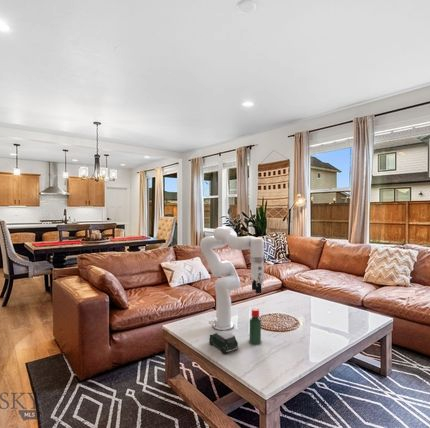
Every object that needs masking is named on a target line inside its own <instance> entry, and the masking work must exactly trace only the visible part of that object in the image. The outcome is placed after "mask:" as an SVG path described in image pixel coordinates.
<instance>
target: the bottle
mask: <svg viewBox="0 0 430 428" xmlns="http://www.w3.org/2000/svg"><path fill="white" fill-rule="evenodd" d="M261 337H262V319H261V318H260V316H259V317H252V316H251V317H250V318H249V344H251V345H254V346H255V345H261V341H262V338H261Z"/></svg>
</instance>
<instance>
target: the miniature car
mask: <svg viewBox="0 0 430 428" xmlns="http://www.w3.org/2000/svg"><path fill="white" fill-rule="evenodd" d="M208 340H209V341H208V342H209V345H214V346H216V347H217V348H219V349H221V352H222V354H226V353H227V352H231V351H234V350H237V349H238V348H240V346H239V342H238V340H237V339H236V335H234V334H233V333H231V332H230V331H228V330H219V332H215V333H213V334H210V335H209V338H208Z"/></svg>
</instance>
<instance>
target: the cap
mask: <svg viewBox="0 0 430 428" xmlns="http://www.w3.org/2000/svg"><path fill="white" fill-rule="evenodd" d="M251 317H259V318H260V309H259V308H255V307H254V308H252V309H251Z"/></svg>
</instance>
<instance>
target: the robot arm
mask: <svg viewBox="0 0 430 428" xmlns="http://www.w3.org/2000/svg"><path fill="white" fill-rule="evenodd" d="M226 246H228V247H229V248H231V249H233V250H237V251H245V250H249V252H250V255H249V256H250V257H249V260H250V261H249V262H250V263H251V264H250V277H251V290H252V291H255V294H262V287H263V285H262V284H263V282H264V280H265V266H264V263H265V258H264V257H265V256H264V255H265V253H264V252H265V240H264V238H263V237H256V236H253V235H247V236H238V234H237V232H236V231H235V229H234V228H233V227H231V226H219V227H216V228H215V229H214V230H213V232H212V235H210V236H205V237H203V238H202V239H201V240H200V243H199V248H200V251H201V254H202V256H203V257H204V258H205V261H206V263H207V265H208V268H209V270H210V272H211V275H212V276H213V277H215V278H217V279H216V280H215V282H214V290H215V314H216V315H215V318H214V319H213V320H208V325H211V326H213V328H214V329H216V330H218V331H228V330H231V329H232V328H234V323H233V322H232V297H231V295H230V292H231V291H237V290H238V289H239V288H240V287H241V279H240V276H239V275H238V272H237V270H236V268H235V266H234V264H233V263H232V262H231V261H230V260H221V258H220V256H219V254H218V253H217V252H216V251H214V250H215V249H222V248H224V247H226Z"/></svg>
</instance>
